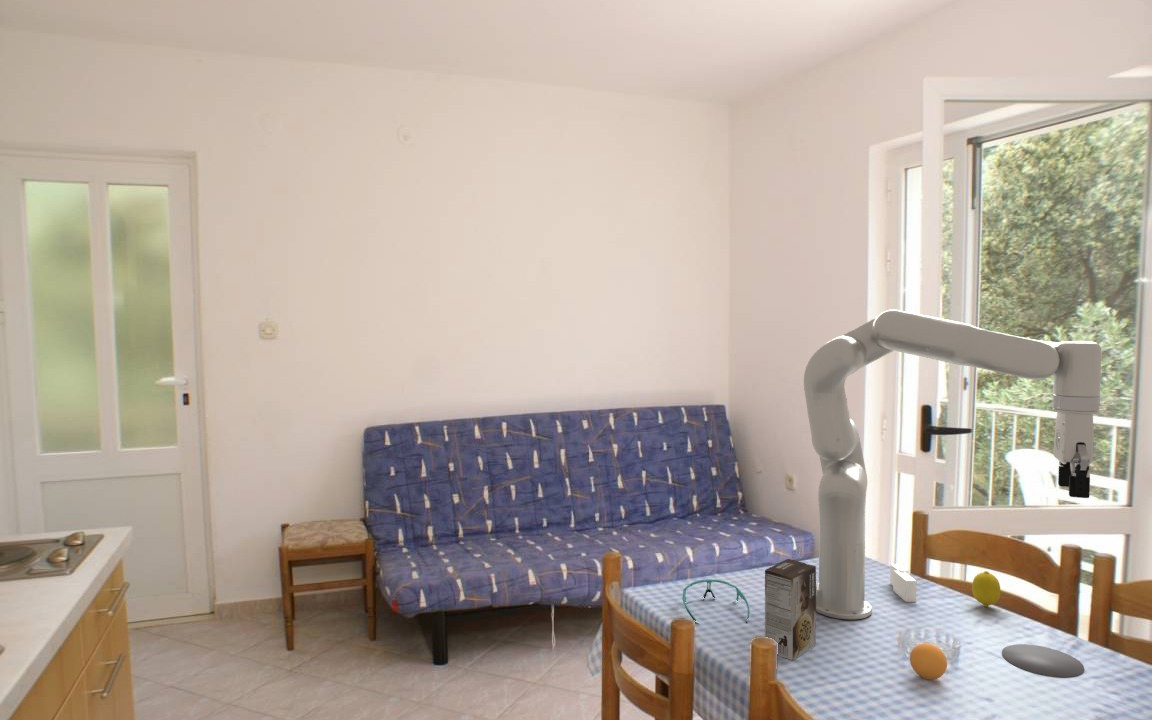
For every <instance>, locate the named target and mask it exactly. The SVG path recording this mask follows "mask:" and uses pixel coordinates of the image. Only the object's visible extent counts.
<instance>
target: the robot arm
mask: <svg viewBox="0 0 1152 720" xmlns="http://www.w3.org/2000/svg"><path fill="white" fill-rule="evenodd" d="M894 351H895V352H899V353H902V354H903V353H904V354H908V355H914V356H918V357H923V358H927V359H932V360H936V361H940V362H944V363H949V364H954V365H957V366H965V367H972V368H976V369H977V368H979V369H982V370H987V371H992V372H996V373H1000V374H1005V375H1010V376H1013V377H1018V378H1021V379H1027V380H1032V381H1038V380H1039V381H1040V380H1045V379H1048V378H1049V377H1051V376H1053V391H1052V392H1053V395H1052V411H1053V412H1054V413H1055V412H1056V416H1055V417H1056V419H1055V425H1054V426H1055V428H1054V440H1053V441H1054V442H1053V454H1052V455H1053V456H1054V458H1055V459H1056V460H1058V463H1059V464H1058V465H1059V466H1058V478H1057V480H1058V481H1057V482H1058V484H1057V485H1058V486H1059V487H1066V488H1068V495H1069V497H1070V498H1078V499H1079V498H1081V499H1089V498H1090V494H1091V493H1090V488H1091V477H1090V476H1091V473H1090V470H1091V469H1090V465H1091V464H1093V458H1094V457H1093V456H1094V455H1093V454H1094V415H1099V414H1100V400H1101V398H1100V397H1101V374H1102V373H1101V372H1102V370H1101V369H1102V348H1101V345H1100V344H1099V343H1098V342H1095V341H1088V340H1072V341H1071V340H1068V341H1067V340H1066V341H1061V342H1060V341H1059V342H1057V341H1045V340H1039V339H1032V338H1028V337H1021V336H1016V335H1012V334H1007V333H1002V332H997V331H993V330H988V329H984V328H980V327H977V326H975V325H972V324H969V323H964V322H960V321H955V320H950V319H946V318H945V319H944V318H940V317H935V316H929V315H926V314H925V315H924V314H920V313H915V312H910V311H905V310H898V309H888V310H885V311H883V312H881V313H879V315H878V316H876V317H874V318H873V319H871V320H869V321H867V322H865V323H864V324H861V325H860V326H858V327H856V328H854V329H852V330H850V331H848V332H847V333H845V334H843V335H840V336H837V337H835V338H833V339H831V340H829V341H827V342H826V343H825V344H823V345H822V346H821V347H819V349H817V350H816V351H815V352H814V353H813V354H812V356H811V357H810V358H809V361H808V362H807V365H806V367H805V369H804V373H803V374H804V375H803V389H804V390H803V391H804V397H805V403H806V410H807V417H808V422H809V428H810V435H811V442H812V447H813V449H814V451H815V452H816V454H817V455H818V456H819V460H820V468H821V472H822V477H821V479H820V480H819V485H818V495H817V498H818V520H819V521H818V525H819V526H818V529H819V530H818V538H819V539H818V541H819V542H818V582H817V583H816V613H819V614H820V615H823V616H825V617H830V618H833V619H839V620H862V619H865V618H868V617H869V616H871V615H872V612H873V607H872V605H871V603H869V602H868V601H866V599H865V595H866V594H865V589H866V588H865V587H866V585H865V584H866V582H865V580H866V579H865V578H866V501H867V500H866V499H867V498H866V497H867V489H868V474H867V470H866V464H865V457H864V455H863V449H862V444H861V443H862V442H861V438H860V433H859V430H858V427H857V425H856V423H855V421H854V420H852V419H851V415H850V411H849V408H848V407H849V406H848V399H847V395H846V390H845V383H846V380H847V378H848V377H849V376H851V375H852V374H855V373H856V372H857V371H859V370H860V369H862V368H864V367H865V366H867V365H869V364H872V363H873V362H875V361H878V360H879V359H882V358H883V357H885V356H887V355H889V354H891V353H893V352H894Z"/></svg>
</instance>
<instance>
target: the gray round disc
mask: <svg viewBox="0 0 1152 720" xmlns="http://www.w3.org/2000/svg"><path fill="white" fill-rule="evenodd" d="M1001 656H1002V657H1003V659H1004V660H1005V661H1007V662H1008V663H1010V664H1011V665H1013V666H1015V667H1017V668H1019V669H1021V670H1024V671H1027V672H1031V673H1034V674H1037V675H1042V676H1047V677H1053V678H1055V677H1056V678H1072V677H1077V676H1080V675H1082V674H1083V673H1084V672H1085V666H1084V664H1083V663H1082V662H1081V661H1080V660H1079V659H1077V658H1076V657H1073V656H1072V655H1070V654H1068V653H1065V652H1063V651H1060V650H1057V649H1054V648H1050V647H1046V646H1041V645H1037V644H1021V643H1020V644H1018V643H1017V644H1011V645H1007V646H1005V647H1004V648H1002V650H1001Z"/></svg>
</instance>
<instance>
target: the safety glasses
mask: <svg viewBox="0 0 1152 720" xmlns="http://www.w3.org/2000/svg"><path fill="white" fill-rule="evenodd" d="M701 583H706V585H707V586H706V590H705V591H704V593H703V596H702V598H703V597H704V598H705V599H706V597H707V595H708V593H710V594H711V595H712V598H713V597H714V598H716V596H715V594H714V593H713V590H711V589H712V588H711V586H712V585H711V584H712V583H721V584H725V585H728V586H730V587H733V588H734V589H735V591H736V598H735V599H736V600H737V601H738V602H739V597H740V598H741V599H742V600H744V602H745V604H746V606H747V607H746V608H747V615H746V620H747V619H748V618H750V606H749V602H748V600H747V598H746V596H745V595H744V594H743V592H742V591H741V590H740V589H739V588H738V587H737V585H734V584H732V583H730V582H728V581H725V580H721V579H712V578H709V579H700V580H696V581H693V582H691V583H690V584H688V585H687V586H685V587H684V589H683V590H682V601H683V604H684V608H685V610H686V611H687V613H688V615H689V616H690V618H691V619H692V620H693V621H694V620H695V621H696V620H697V619H696V618H695V617H694V615H693V614H692V612H691V611H690V609H689V607H688V606H687V604H686V603H685V602H687V598H686V592H687V589H689V588H690V587H692V586H693V585H696V584H701ZM736 600H735V601H736ZM748 620H749V619H748ZM695 621H694V622H695Z"/></svg>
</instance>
